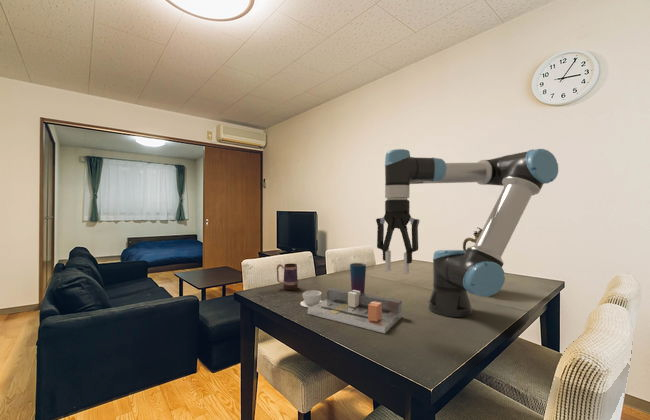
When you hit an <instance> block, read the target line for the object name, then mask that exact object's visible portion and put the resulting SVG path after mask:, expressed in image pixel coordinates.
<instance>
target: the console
mask: <svg viewBox="0 0 650 420" xmlns="http://www.w3.org/2000/svg"><path fill="white" fill-rule="evenodd" d="M350 291H351V290H346V289H339V288H334V287H329V288H327V289H326V299H324V300H321V301H322V302H320V303H318V304H316V305H314V306H312V307H310V308H309V307H307V315H311V316H315V317H318V318H322V319H325V320H326V319H327V320H329V321H334V322H338V323H341V324H346V325H350V326H353V327H357V328H358V327H359V328H361V329H366V330H369V331H373V332H378V333H382V334H386V333H387V332H388V331H390V329H391V328H393V326H394V325H395V324H396V323H398V321H399V320H401V318H402V314H403V313H402V309H403V308H402V306H403V303H402V300H401V299H394V298H390V297H384V296H379V295H374V294H369V293H364V294H363V293H360V295H359V305H358V306H357V307H350V306H348V292H350ZM373 301H376V302H381V303H382V318H381V319H380V320H378V321H377V322H375V321H371V320H368V305H369V304H370V303H371V302H373Z"/></svg>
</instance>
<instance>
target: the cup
mask: <svg viewBox="0 0 650 420" xmlns="http://www.w3.org/2000/svg"><path fill="white" fill-rule="evenodd" d="M349 267H350V268H349V271H350V287H351V288H350V289H351V290H350V291H352V290H357V291H360V293H363V294H365V290H366V289H365V286H366V270H367V264H366V263H364V262H363V263H362V262H352V263H349Z"/></svg>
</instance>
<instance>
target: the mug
mask: <svg viewBox="0 0 650 420" xmlns="http://www.w3.org/2000/svg"><path fill="white" fill-rule="evenodd" d="M280 267H281V268H282V269H283V281H281V280H280V277H279V275H280V274H279V268H280ZM276 281H277V282H278V283H280V284H283V287H282V288H283V289H284V290H285V291H296V290H297V289H298V288H299V286H298V284H299V280H298V264H297V263H285V264H284V266H283V264H280V263H279V264H277V265H276Z"/></svg>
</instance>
